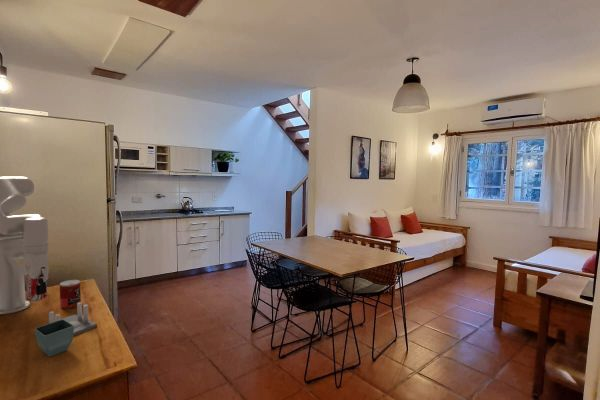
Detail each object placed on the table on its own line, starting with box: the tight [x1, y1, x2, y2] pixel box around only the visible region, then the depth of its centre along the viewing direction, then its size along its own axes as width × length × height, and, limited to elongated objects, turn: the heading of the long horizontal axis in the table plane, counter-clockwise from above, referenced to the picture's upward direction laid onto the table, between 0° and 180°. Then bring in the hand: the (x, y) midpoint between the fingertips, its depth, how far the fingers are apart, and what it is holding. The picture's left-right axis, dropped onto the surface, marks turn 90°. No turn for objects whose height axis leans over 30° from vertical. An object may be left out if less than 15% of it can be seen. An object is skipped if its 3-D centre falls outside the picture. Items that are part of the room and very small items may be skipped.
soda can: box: [25, 274, 48, 302], centre depth 127 cm, size 6×6×12 cm
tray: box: [39, 302, 98, 337], centre depth 125 cm, size 16×13×8 cm
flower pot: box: [33, 318, 74, 357], centre depth 109 cm, size 9×9×9 cm
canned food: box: [59, 279, 82, 310], centre depth 146 cm, size 8×8×11 cm
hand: (36, 291), depth 128 cm, fingers closed on soda can, 6 cm apart
